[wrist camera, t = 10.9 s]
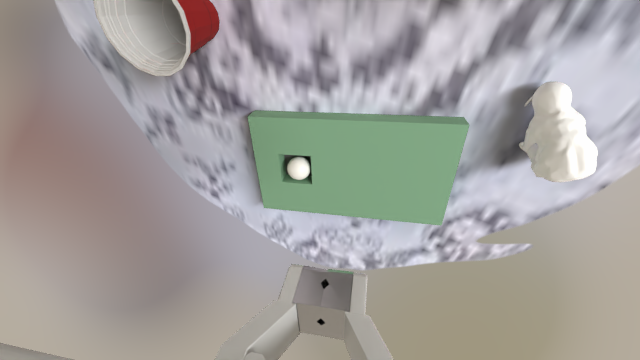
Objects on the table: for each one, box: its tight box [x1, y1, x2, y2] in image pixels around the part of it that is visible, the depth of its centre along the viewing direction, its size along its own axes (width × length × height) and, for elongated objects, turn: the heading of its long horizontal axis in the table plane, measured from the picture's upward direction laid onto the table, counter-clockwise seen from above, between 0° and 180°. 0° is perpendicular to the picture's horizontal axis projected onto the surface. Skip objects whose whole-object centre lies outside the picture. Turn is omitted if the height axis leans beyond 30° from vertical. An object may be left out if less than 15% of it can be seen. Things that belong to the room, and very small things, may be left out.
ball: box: [287, 157, 311, 180], centre depth 46 cm, size 4×4×4 cm
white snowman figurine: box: [519, 81, 598, 182], centre depth 34 cm, size 6×8×12 cm
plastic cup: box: [93, 0, 219, 76], centre depth 34 cm, size 11×11×12 cm
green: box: [248, 110, 469, 225], centre depth 45 cm, size 18×32×3 cm, turn 91°
